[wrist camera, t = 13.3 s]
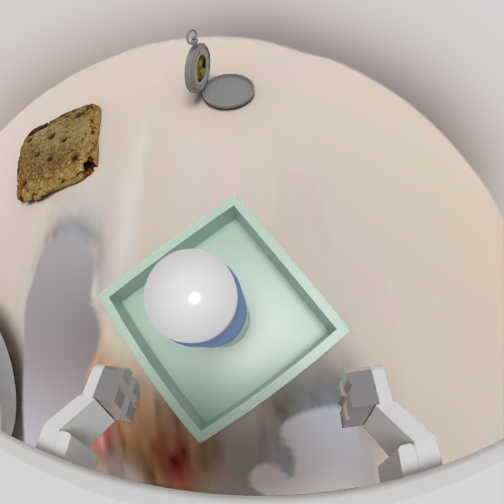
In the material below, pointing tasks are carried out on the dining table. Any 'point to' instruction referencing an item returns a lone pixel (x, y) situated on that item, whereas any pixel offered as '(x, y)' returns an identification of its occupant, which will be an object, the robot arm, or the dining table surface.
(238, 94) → the pocket watch
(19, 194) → the pastry
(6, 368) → the serving bowl
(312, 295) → the tray
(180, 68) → the dining table surface
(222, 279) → the shaker
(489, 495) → the robot arm
